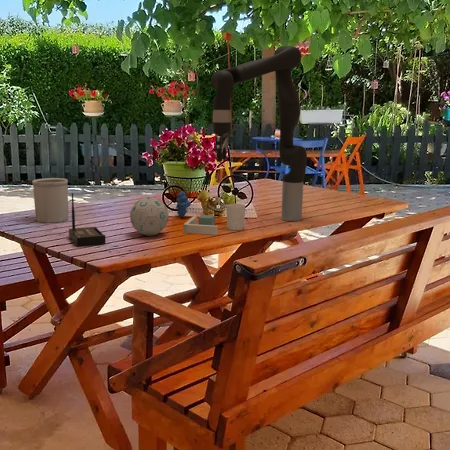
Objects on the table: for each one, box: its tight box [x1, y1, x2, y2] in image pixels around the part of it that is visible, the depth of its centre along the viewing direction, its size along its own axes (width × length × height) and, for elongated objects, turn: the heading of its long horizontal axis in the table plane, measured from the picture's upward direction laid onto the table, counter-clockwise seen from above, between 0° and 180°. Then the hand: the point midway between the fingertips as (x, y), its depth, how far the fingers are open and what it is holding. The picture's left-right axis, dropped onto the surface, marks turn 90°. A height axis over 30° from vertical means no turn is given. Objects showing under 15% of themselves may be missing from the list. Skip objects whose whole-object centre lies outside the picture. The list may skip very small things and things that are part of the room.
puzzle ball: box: [129, 196, 170, 237], centre depth 244 cm, size 15×15×15 cm
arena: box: [182, 215, 219, 236], centre depth 256 cm, size 17×14×4 cm
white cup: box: [225, 203, 246, 231], centre depth 257 cm, size 8×8×10 cm
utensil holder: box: [31, 177, 69, 224], centre depth 269 cm, size 15×15×18 cm
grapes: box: [175, 191, 192, 218], centre depth 279 cm, size 12×7×12 cm, turn 20°
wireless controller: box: [68, 192, 106, 248], centre depth 235 cm, size 20×14×17 cm
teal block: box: [198, 214, 216, 226], centre depth 255 cm, size 6×6×6 cm
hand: (221, 160), depth 257 cm, fingers open, 8 cm apart
